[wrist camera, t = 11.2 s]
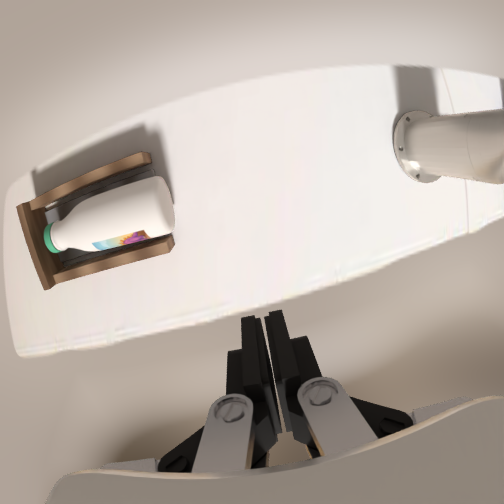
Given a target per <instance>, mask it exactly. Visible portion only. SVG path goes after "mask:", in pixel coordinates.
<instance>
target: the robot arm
mask: <svg viewBox="0 0 504 504" xmlns="http://www.w3.org/2000/svg"><path fill="white" fill-rule="evenodd" d="M394 149H395V154H396V157H397V160H398V162H399V164H400V166H401V168H402V169H403V171H404V172H405V173H406V174H407V175H408V176H409V177H410V178H412V179H413V180H415V181H417V182H422V183H431V182H434V181H436V180H438V179H439V178H440V177H441V176H446V177H453V178H460V179H467V180H473V181H479V182H485V183H491V184H503V183H504V109H496V110H487V111H478V112H468V113H459V114H451V115H444V116H437V117H433V116H432V115H431V114H429V113H427V112H424V111H419V110H417V111H411V112H408V113H406V114H405V115H403V116H402V117H401V118H400V120H399V121H398V123H397V125H396V128H395V132H394ZM264 319H265V324H266V331H267V336H268V342H269V349H270V354H271V360H272V366H273V373H274V378H275V383H276V388H277V392H278V397H279V400H280V405H281V409H282V414H283V418H284V422H285V426H286V431H287V432H290V431H293V436H294V439H295V440H297V441H299V442H301V443H304V444H305V447H306V450H307V452H308V454H309V456H310V459H309V460H305V461H300V462H295V463H290V464H285V465H278V466H272V467H269V457H270V453H269V449H270V448H271V447H272V446H273V445H274V444H275V443H276V442H277V441H278V438H277V434H279V433H282V428H281V422H280V416H279V410H278V403H277V397H276V391H275V385H274V378H273V373H272V367H271V363H270V358H269V354H268V350H267V345H266V341H265V337H264V333H263V328H262V323H261V319H260V318H255V316H254V315H253V316H248V317H243V318H241V332H242V349H239V350H233V351H228V356H227V382H226V395H225V396H222V397H220V398H219V399H217V400H216V401H215V402H214V403H213V404H212V405H211V407H210V409H209V413H208V417H207V420H206V423H205V426H203V427H202V428H201V429H199V430H198V431H197V432H195V433H194V434H193V435H191V436H190V437H189V438H188V439H186V440H185V441H184V442H182V443H181V444H179V445H178V446H177V447H175V448H174V449H173V450H171V451H170V452H168V453H167V454H166V455H165V456H163V457H162V458H161V460H156V459H155V458H151V459H144V460H136V461H127V462H117V463H109V464H105V465H104V466H102V467H101V468H100V469H90V470H83V471H77V472H73V473H70V474H67V475H65V476H63V477H62V478H60V479H59V480H58V481H57V483H56V484H55V485H54V487H53V489H52V490H51V492H50V494H49V496H48V498H47V501H46V503H45V504H504V396H503V395H496V396H489V397H484V398H479V399H475V400H473V399H471V398H468V397H458V398H455V399H452V400H448V401H445V402H441V403H438V404H434V405H430V406H426V407H422V408H418V409H414V410H413V412H412V413H408V414H406V413H405V412H402V411H400V410H396V409H392V408H388V407H384V406H380V405H377V404H373V403H370V402H366V401H363V400H359V399H356V398H353V397H350V396H348V394H347V393H346V391H345V390H344V388H343V387H342V385H341V384H340V383H339V382H338V381H336V380H334V379H332V378H328V377H322V375H321V372H320V369H319V366H318V364H317V361H316V359H315V356H314V353H313V350H312V348H311V345H310V342H309V340H308V338H307V336H303V337H298V338H294V339H290V337H289V334H288V330H287V327H286V323H285V320H284V316H283V313H282V310H277V311H272V312H269V316H266V317H264Z"/></svg>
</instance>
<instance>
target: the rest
mask: <svg viewBox="0 0 504 504" xmlns="http://www.w3.org/2000/svg"><path fill="white" fill-rule="evenodd" d="M150 163H152V161H151V157H150V153H146V152H139V153H136V154H134V155H131V156H128V157H126V158H123V159H120V160H118V161H115V162H113V163H110V164H108V165H105V166H103V167H100V168H98V169H96V170H93V171H91V172H89V173H86V174H84V175H82V176H80V177H77V178H75V179H73V180H71V181H69V182H67V183H64V184H62V185H60V186H58V187H56V188H54V189H52V190H50V191H48V192H46V193H44V194H42V195H40V196H39V197H37V198H35V199H33V200H31V201H29V202H26V203H22V204H20V205H18V206H17V207H16V208H17V212H18V216H19V219H20V223H21V226H22V230H23V233H24V237H25V240H26V243H27V246H28V249H29V252H30V255H31V258H32V260H33V263H34V266H35V269H36V271H37V274H38V276H39V279H40V281H41V284H42V286H43V288H44V290H48V289H51V288H52V287H53V286H54V285H56V284H58V283H61V282H65V281H68V280H72V279H75V278H79V277H82V276H86V275H89V274H93V273H96V272H100V271H103V270H107V269H111V268H114V267H118V266H121V265H125V264H129V263H132V262H136V261H140V260H143V259H147V258H151V257H155V256H158V255H162V254H166V253H170V251H171V250H172V248H173V247H174V245H175V243H174V240H173V237H172V235H170V236H167V237H163V238H159V239H156V240H152V241H149V242H145V243H142V244H138V245H135V246H131V247H128V248H125V249H121V250H118V251H114V252H111V253H108V254H105V255H101V256H98V257H95V258H91V259H88V260H85V261H82V262H79V263H76V264H72V265H69V266H66V267H64V265H63V262H64V261H67V260H70V259H73V258H76V257H79V256H83V255H86V254H89V253H92V252H95V251H84V250H80V249H76V248H67V249H66V250H64V251H61V252H58V253H53V252H51V251H50V250H49V249H48V248H47V246H46V244H45V241H44V230H45V228H46V226H47V225H48V224H50V223H53V222H56V221H62V220H63V219H64V218H65V217H66V216H67V215H68V214H69V213H70V212H71V211H72V210H73V208H74V207H76V206H77V205H78V204H79V203H81V202H82V201H84V200H86V199H88V198H90V197H93V196H95V195H98V194H101V193H103V192H106V191H109V190H112V189H115V188H118V187H121V186H124V185H127V184H130V183H133V182H137V181H140V180H143V179H147V178H150V177H154V176H155V173H154V169H153V170H150V171H147V172H144V173H141V174H138V175H135V176H132V177H129V178H126V179H124V180H121V181H118V182H116V183H113V184H110V185H108V186H105V187H103V188H100V189H97V190H95V191H92V192H90V193H88V194H85V195H83V196H80V197H78V198H76V199H73V200H71V201H69V202H67V203H64V204H62V205H60V206H58V207H56V208H53V209H51V210H49V211H47V212H46V209H45V206H47V205H49V204H51V203H53V202H55V201H57V200H59V199H62V198H64V197H66V196H68V195H70V194H73V193H75V192H77V191H79V190H82V189H84V188H86V187H89V186H91V185H94V184H96V183H99V182H101V181H104V180H106V179H109V178H111V177H114V176H116V175H119V174H122V173H124V172H127V171H130V170H133V169H136V168H138V167H141V166H144V165H147V164H150Z"/></svg>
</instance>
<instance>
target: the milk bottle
mask: <svg viewBox="0 0 504 504" xmlns="http://www.w3.org/2000/svg"><path fill="white" fill-rule="evenodd" d="M174 227H175V215H174V208H173V203H172V198H171V195H170V192H169V189H168V186H167V184H166V182H165V181H164V179H163V178H162V177H161V176H154V177H150V178H147V179H143V180H140V181H137V182H133V183H130V184H127V185H124V186H121V187H118V188H115V189H112V190H109V191H106V192H103V193H101V194H98V195H95V196H93V197H90V198H88V199H86V200H84V201H82V202H81V203H79V204H78V205H77V206H76V207H74V208H73V210H72V211H71V212H70V213H69V214H68V215H67V216H66V217H65V218H64V219H63V220H62V221H56V222H53V223H50V224H48V225H47V226H46V228H45V230H44V241H45V244H46V246H47V248H48V249H49V250H50V251H51V252H53V253H58V252H61V251H64V250H66V249H67V248H76V249H80V250H84V251H101V250H105V249H110V248H114V247H118V246H122V245H126V244H130V243H134V242H138V241H142V240H146V239H150V238H154V237H158V236H162V235H166V234H169V233H171V232H172V231H173V230H174Z"/></svg>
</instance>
